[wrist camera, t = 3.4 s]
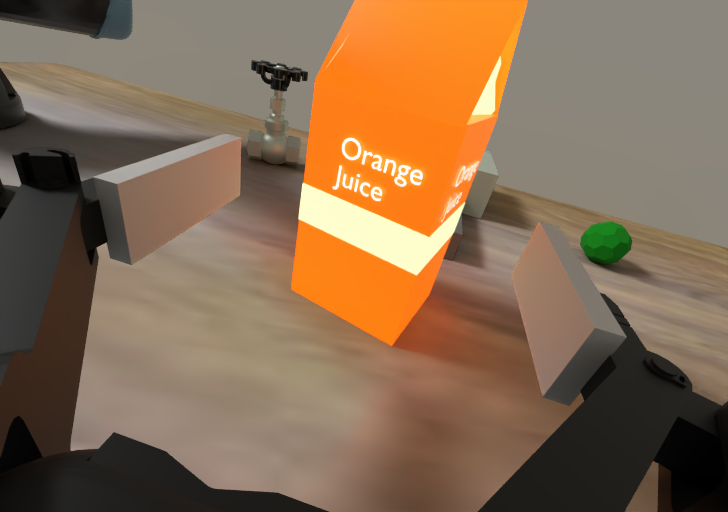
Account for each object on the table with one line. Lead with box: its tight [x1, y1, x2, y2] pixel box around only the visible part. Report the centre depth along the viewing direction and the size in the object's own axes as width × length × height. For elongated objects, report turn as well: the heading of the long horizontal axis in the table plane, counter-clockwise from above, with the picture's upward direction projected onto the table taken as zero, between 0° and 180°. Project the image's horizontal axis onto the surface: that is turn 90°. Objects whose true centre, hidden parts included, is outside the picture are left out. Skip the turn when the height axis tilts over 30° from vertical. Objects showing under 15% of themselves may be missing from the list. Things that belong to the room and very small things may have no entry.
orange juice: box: [291, 0, 528, 346], centre depth 23 cm, size 8×9×20 cm
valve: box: [247, 60, 308, 165], centre depth 45 cm, size 7×7×12 cm
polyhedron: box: [580, 222, 632, 264], centre depth 42 cm, size 5×5×5 cm
